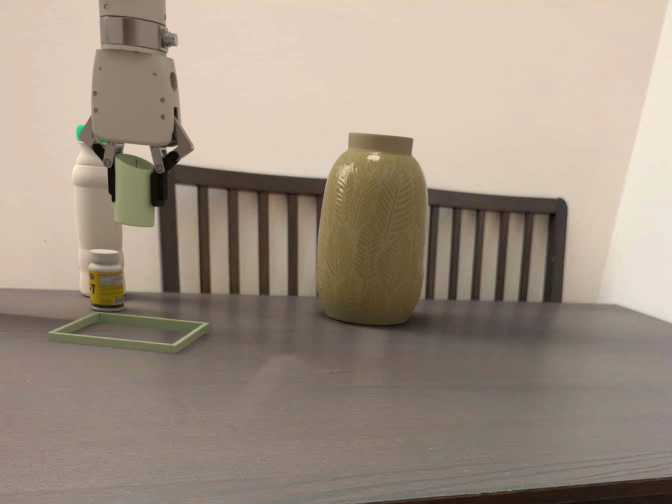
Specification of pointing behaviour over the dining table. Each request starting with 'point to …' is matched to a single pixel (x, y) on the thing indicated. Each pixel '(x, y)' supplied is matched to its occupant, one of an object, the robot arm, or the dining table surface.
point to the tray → (130, 320)
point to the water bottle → (93, 211)
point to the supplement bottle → (105, 281)
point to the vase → (373, 232)
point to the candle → (133, 191)
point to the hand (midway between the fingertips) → (138, 202)
